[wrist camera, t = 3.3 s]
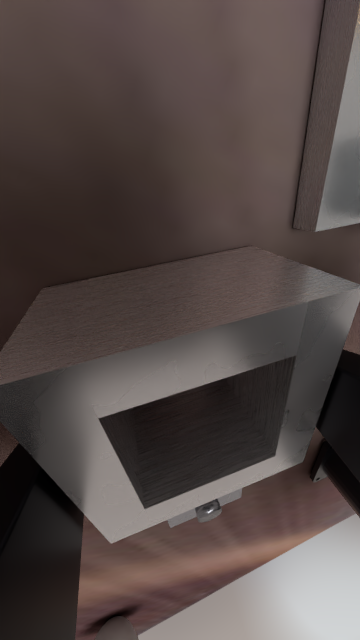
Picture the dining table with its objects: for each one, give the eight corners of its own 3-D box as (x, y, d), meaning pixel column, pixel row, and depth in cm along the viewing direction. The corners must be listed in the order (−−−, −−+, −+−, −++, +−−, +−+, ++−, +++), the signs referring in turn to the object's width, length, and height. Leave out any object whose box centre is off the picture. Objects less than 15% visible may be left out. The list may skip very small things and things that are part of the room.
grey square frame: (244, 381, 11) (303, 462, 8) (109, 426, 10) (110, 543, 7) (251, 245, 8) (364, 286, 4) (42, 288, 6) (-27, 392, 3)
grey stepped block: (221, 452, 14) (247, 510, 11) (160, 475, 13) (173, 543, 11) (219, 395, 11) (253, 456, 9) (141, 421, 10) (153, 496, 8)
